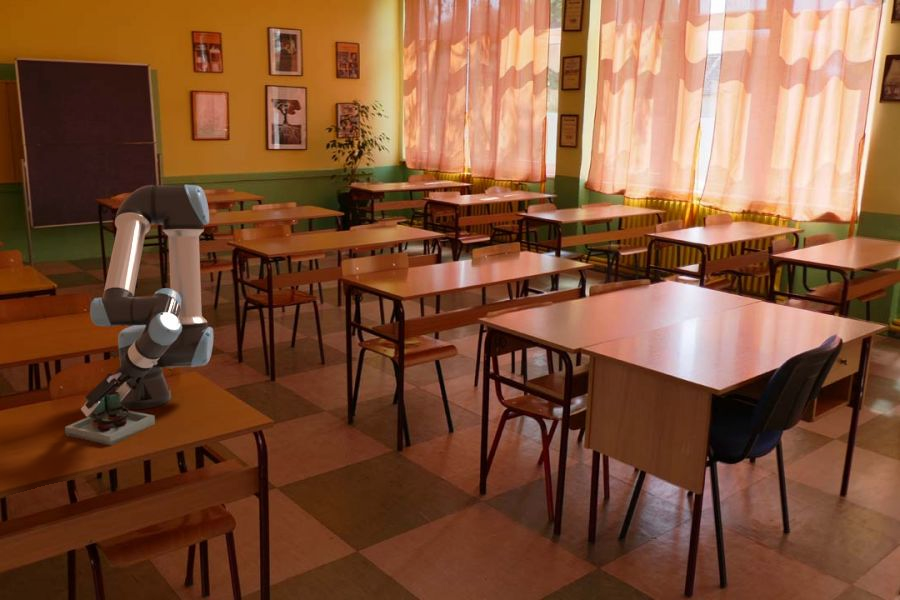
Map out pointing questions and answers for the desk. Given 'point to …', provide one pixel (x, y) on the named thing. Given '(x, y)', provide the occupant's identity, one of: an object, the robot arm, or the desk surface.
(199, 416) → the desk surface
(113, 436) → the tray
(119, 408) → the binoculars
